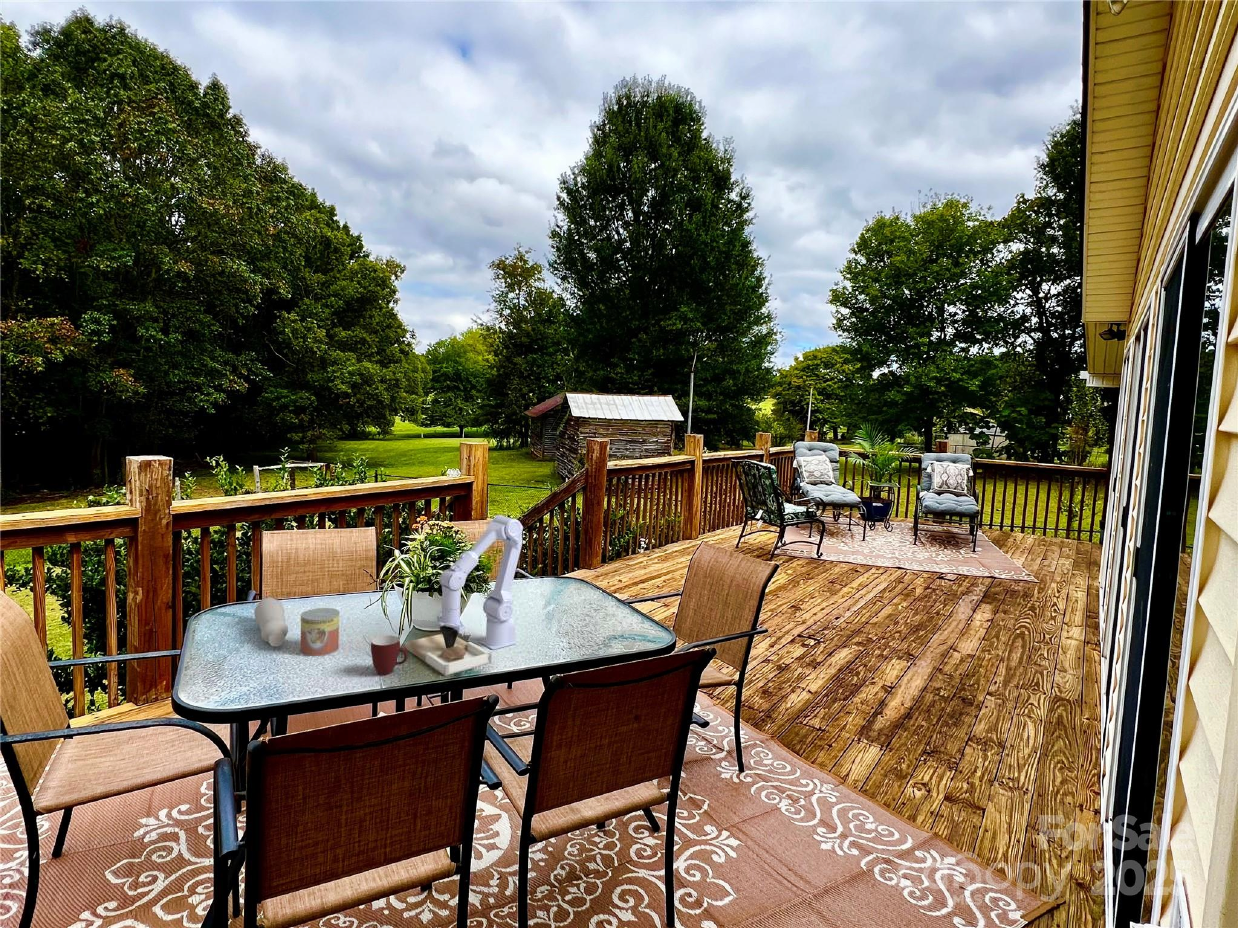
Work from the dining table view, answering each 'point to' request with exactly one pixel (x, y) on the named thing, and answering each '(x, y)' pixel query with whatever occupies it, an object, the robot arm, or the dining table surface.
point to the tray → (471, 660)
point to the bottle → (271, 621)
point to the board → (431, 646)
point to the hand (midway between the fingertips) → (449, 648)
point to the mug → (386, 653)
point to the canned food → (319, 632)
